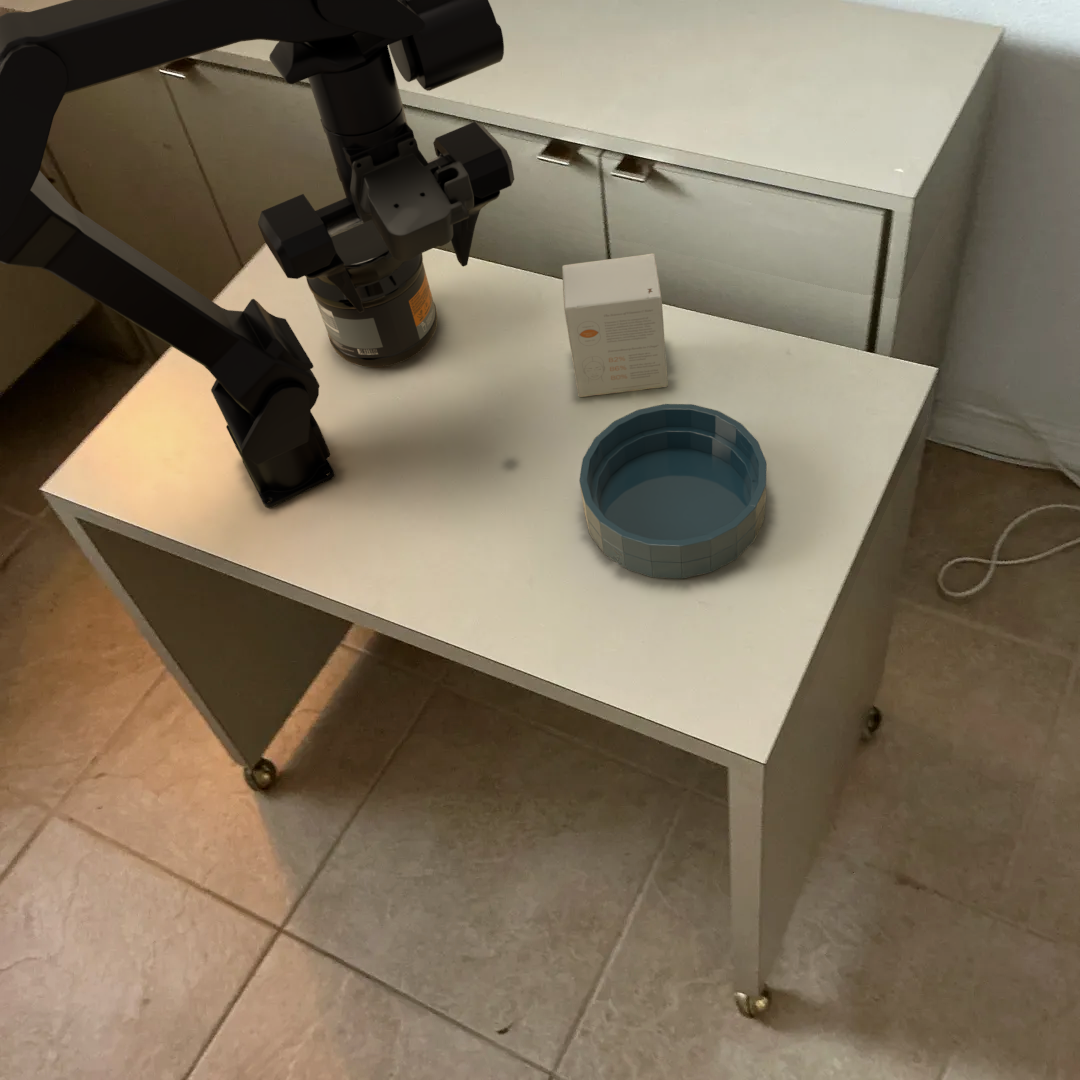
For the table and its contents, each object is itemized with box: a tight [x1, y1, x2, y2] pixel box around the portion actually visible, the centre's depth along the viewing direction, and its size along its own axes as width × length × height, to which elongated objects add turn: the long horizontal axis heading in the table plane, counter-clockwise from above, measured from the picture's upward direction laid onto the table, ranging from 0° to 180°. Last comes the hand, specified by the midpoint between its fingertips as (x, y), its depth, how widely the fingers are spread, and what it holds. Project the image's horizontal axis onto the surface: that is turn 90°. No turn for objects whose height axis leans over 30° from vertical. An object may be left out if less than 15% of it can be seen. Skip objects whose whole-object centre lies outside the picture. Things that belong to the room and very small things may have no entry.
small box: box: [561, 252, 669, 398], centre depth 96 cm, size 8×6×10 cm
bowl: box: [579, 403, 768, 579], centre depth 88 cm, size 14×14×4 cm
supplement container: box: [305, 220, 439, 368], centre depth 102 cm, size 10×10×12 cm
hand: (411, 286), depth 90 cm, fingers open, 9 cm apart
